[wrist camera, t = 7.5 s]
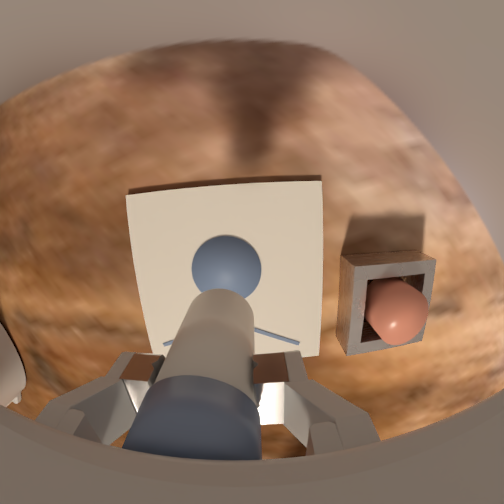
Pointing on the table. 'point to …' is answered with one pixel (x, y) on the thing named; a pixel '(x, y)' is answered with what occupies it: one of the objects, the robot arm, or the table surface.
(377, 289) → the button
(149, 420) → the dome-topped peg
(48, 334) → the table surface
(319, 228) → the drawing pad
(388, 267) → the button housing
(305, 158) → the table surface
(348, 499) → the robot arm
